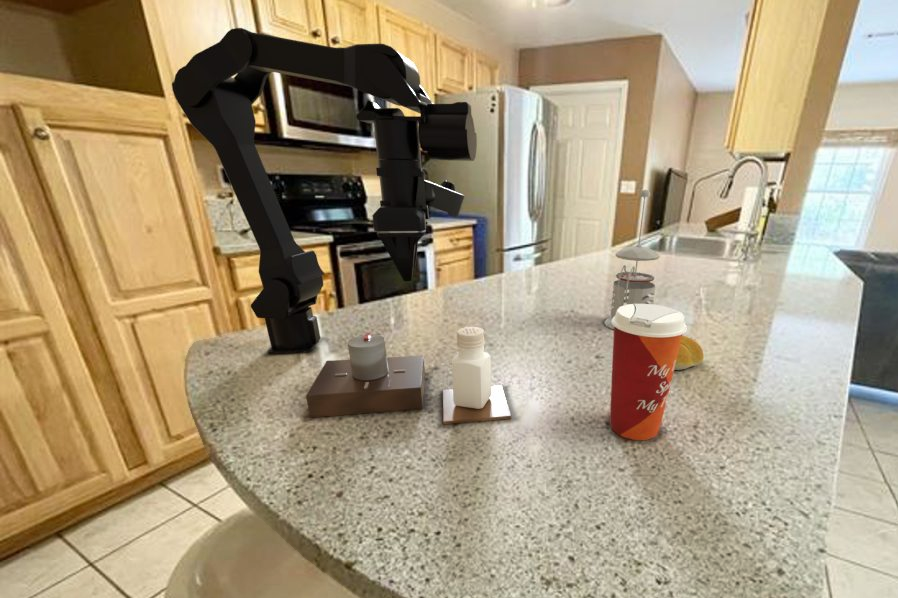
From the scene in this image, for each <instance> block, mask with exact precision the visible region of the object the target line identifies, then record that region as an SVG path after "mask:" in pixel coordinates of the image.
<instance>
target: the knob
mask: <svg viewBox="0 0 898 598" xmlns="http://www.w3.org/2000/svg"><path fill="white" fill-rule="evenodd" d="M346 343H347V349H348V350H347V351H348V355H349V360H350V363H351V369H352V375H353V377H354V378H355V379H358V380H374V379H378V378H381V377H383V376H385V375H386V374H387V373H388V363H387V357H388V356H387V347H386V339H385V337H384V336H382V335H380V334H372V333H371V332H365V334H363V335H357V336H354V337H351V338H350V339H349V340H348V341H347V342H346Z"/></svg>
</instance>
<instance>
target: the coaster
mask: <svg viewBox="0 0 898 598" xmlns="http://www.w3.org/2000/svg"><path fill="white" fill-rule="evenodd" d="M503 387H504V386H503V385H491V396H490V398H489V400H488V401H487V402H486V404H485V405H484V407H483V408H481V409H476V408H469V407H462V406H457V405H455V404H454V399H453V388H448V389H447V388H446V389H442V419H443V420H442V422H443V423H442V424H443V425H452V424H453V425H454V424H463V423H465V424H466V423H475V422H487V421H497V420H508V419H512V414H511V410H510V407H509V404H508V401H507V398H506V393H505V391H504V388H503Z"/></svg>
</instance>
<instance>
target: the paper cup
mask: <svg viewBox="0 0 898 598" xmlns="http://www.w3.org/2000/svg"><path fill="white" fill-rule="evenodd" d="M611 322H612V324H613V326H614V329H613V339H612V340H613V342H612V344H613V345H612V361H611V363H612V364H611V384H610V385H611V387H610V390H611V391H610V410H609V411H610V413H609V415H610V416H609V418H610V419H609V420H610V421H609V422H610V423H609V424H610V428H611V429H612V430H613V431H614V433H616V434H617V435H618V436H621V437H623V438H625V439H629V440H632V441H648V440H651V439H653V438H655V437H656V436H657V435H658V434H659V431H660V428H661V426H662V425H661V424H662V421H663V419H664V418H663V417H664V413H665V409H666V405H667V401H668V397H669V394H670V389H671V384H672V380H673V376H674V372H675V370H674V368H675V364H676V359H677V355H678V351H679V347H680V343H681V338H682V336H683V334H685V333H686V332H687V330H688V326H687V324H686V323H685V316H684V314H683V313H682V312H681V311H679V310H677V309H674V308H672V307H669V306H666V305H661V304H654V303H653V304H650V303H649V304H628V305H627V304H624V305H623V306H621V307H619V308H618V309H617V311H616V315H615V316H614V317H613V319H612V320H611Z"/></svg>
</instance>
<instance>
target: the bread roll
mask: <svg viewBox="0 0 898 598" xmlns="http://www.w3.org/2000/svg"><path fill="white" fill-rule="evenodd" d="M703 360H704V351H703V348H702V346H701V345H700V344H699V343H698V342H697V341H696V340H694V339H693V338H692V337H689V336H687V335H682V338H681V343H680V347H679V351H678V355H677V359H676V364H675V368H674V371H676V370H677V371H681V370H685V369H689V368H691V367H696V366H698V365H700V364H702V362H703Z"/></svg>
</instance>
